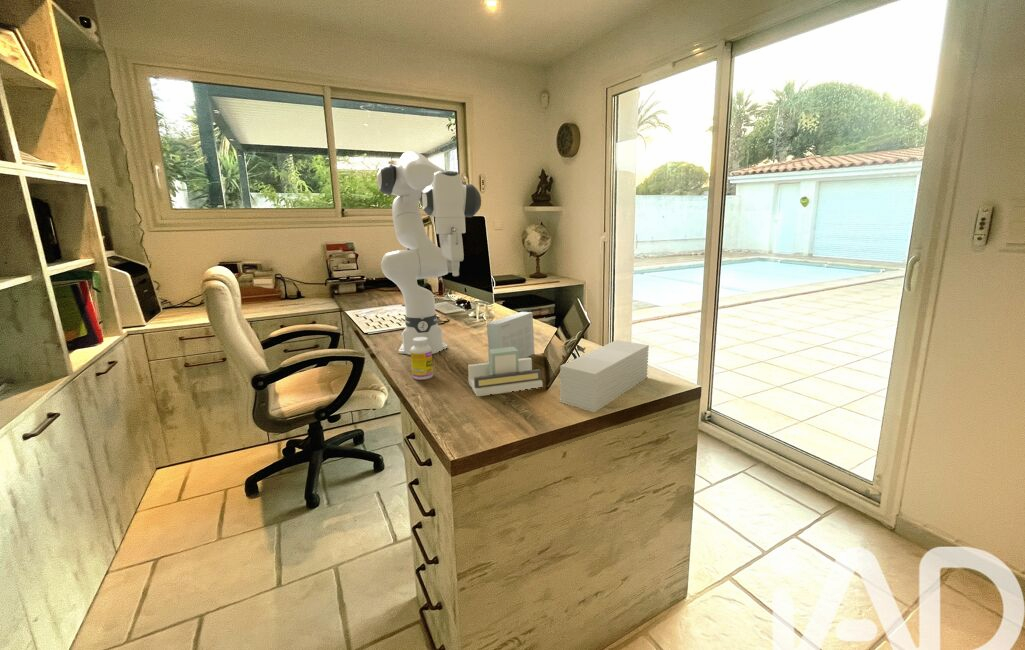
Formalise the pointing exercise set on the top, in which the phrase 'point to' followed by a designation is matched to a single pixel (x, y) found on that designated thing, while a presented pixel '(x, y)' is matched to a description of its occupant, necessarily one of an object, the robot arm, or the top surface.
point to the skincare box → (513, 333)
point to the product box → (503, 360)
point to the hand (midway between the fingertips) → (453, 274)
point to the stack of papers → (603, 374)
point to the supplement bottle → (421, 359)
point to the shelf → (503, 378)
